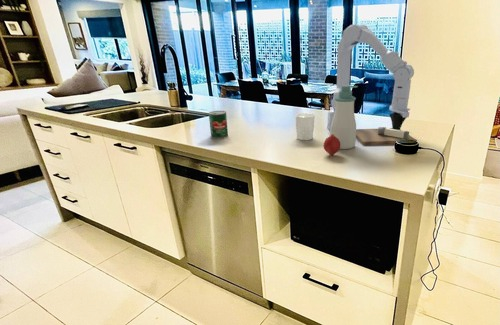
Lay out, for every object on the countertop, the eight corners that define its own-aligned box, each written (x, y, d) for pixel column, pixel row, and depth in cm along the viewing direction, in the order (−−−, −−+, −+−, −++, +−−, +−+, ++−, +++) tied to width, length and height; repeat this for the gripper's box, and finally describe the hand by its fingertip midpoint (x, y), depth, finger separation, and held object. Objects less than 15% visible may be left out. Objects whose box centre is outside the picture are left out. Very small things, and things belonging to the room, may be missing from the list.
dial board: (363, 145, 115) (363, 141, 115) (350, 132, 132) (351, 129, 132) (416, 143, 114) (417, 139, 113) (397, 131, 131) (397, 127, 130)
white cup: (315, 135, 130) (315, 113, 127) (312, 141, 123) (313, 117, 120) (297, 135, 133) (297, 112, 129) (293, 140, 126) (293, 116, 122)
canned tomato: (220, 132, 142) (218, 109, 138) (231, 135, 137) (229, 111, 133) (207, 136, 137) (205, 113, 133) (218, 139, 132) (215, 115, 128)
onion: (321, 153, 110) (321, 132, 107) (336, 151, 110) (337, 130, 107) (326, 158, 104) (327, 136, 101) (342, 157, 105) (343, 135, 102)
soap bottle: (351, 151, 110) (356, 88, 101) (325, 148, 115) (328, 87, 106) (358, 144, 117) (363, 84, 109) (333, 141, 122) (336, 83, 114)
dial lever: (376, 134, 123) (377, 127, 122) (380, 132, 124) (380, 126, 123) (405, 139, 114) (406, 132, 113) (409, 137, 116) (410, 131, 115)
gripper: (419, 100, 111) (414, 135, 116) (403, 94, 124) (398, 126, 129) (400, 101, 111) (395, 136, 116) (385, 94, 125) (382, 126, 130)
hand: (395, 130), depth 123 cm, fingers closed
